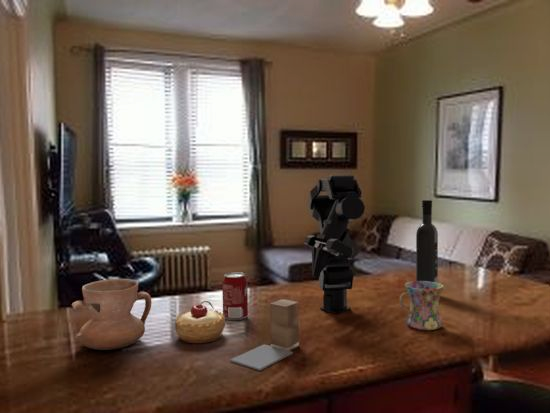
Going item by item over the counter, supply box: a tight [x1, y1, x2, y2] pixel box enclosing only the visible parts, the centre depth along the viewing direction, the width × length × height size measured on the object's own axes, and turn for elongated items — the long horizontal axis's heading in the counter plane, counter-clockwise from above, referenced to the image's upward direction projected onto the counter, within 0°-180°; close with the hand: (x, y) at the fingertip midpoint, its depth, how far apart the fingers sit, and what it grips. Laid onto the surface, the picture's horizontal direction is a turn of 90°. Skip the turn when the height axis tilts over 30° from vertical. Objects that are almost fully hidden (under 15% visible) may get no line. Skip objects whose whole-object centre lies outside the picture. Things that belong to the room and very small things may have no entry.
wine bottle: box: [415, 199, 439, 283], centre depth 147 cm, size 6×6×30 cm
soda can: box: [221, 272, 249, 322], centre depth 128 cm, size 7×7×12 cm
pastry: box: [174, 300, 226, 344], centre depth 113 cm, size 12×12×9 cm
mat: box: [230, 344, 294, 372], centre depth 100 cm, size 11×8×1 cm
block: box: [269, 298, 300, 351], centre depth 106 cm, size 4×4×10 cm
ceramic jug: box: [71, 278, 152, 351], centre depth 109 cm, size 18×14×14 cm
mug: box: [398, 280, 445, 331], centre depth 117 cm, size 12×9×11 cm
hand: (314, 276), depth 121 cm, fingers closed
